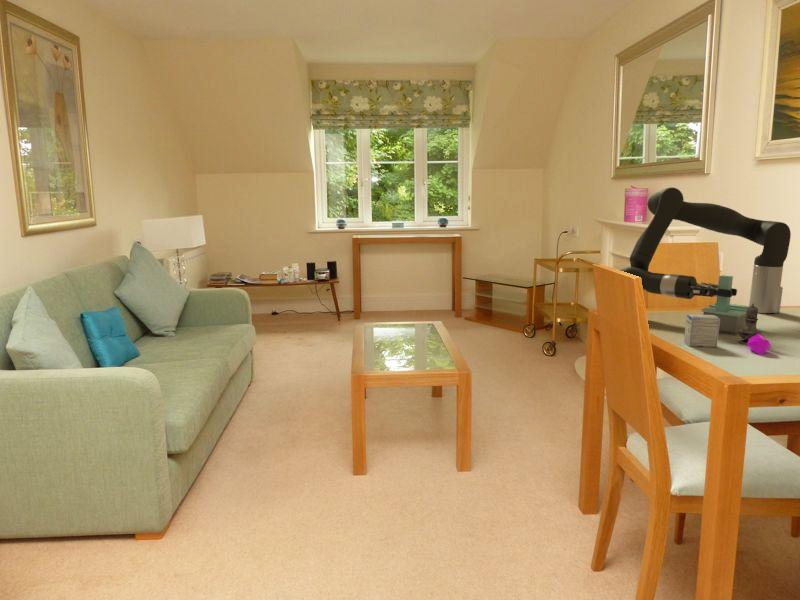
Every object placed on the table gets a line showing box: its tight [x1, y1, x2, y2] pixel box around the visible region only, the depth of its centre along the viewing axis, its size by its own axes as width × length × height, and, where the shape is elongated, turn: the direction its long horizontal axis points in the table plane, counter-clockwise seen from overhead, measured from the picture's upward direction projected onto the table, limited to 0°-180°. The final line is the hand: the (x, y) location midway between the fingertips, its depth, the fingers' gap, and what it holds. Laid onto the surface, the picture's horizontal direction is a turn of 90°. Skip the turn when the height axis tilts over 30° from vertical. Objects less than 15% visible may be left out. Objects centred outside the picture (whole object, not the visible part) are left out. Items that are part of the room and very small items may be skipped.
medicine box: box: [683, 314, 720, 348], centre depth 179 cm, size 8×4×9 cm, turn 84°
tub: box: [702, 312, 746, 336], centre depth 201 cm, size 16×10×6 cm, turn 134°
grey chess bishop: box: [737, 304, 762, 346], centre depth 182 cm, size 6×6×12 cm
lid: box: [701, 274, 757, 317], centre depth 199 cm, size 17×11×12 cm, turn 134°
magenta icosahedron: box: [746, 334, 772, 356], centre depth 173 cm, size 5×5×5 cm
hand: (733, 293), depth 193 cm, fingers open, 3 cm apart
